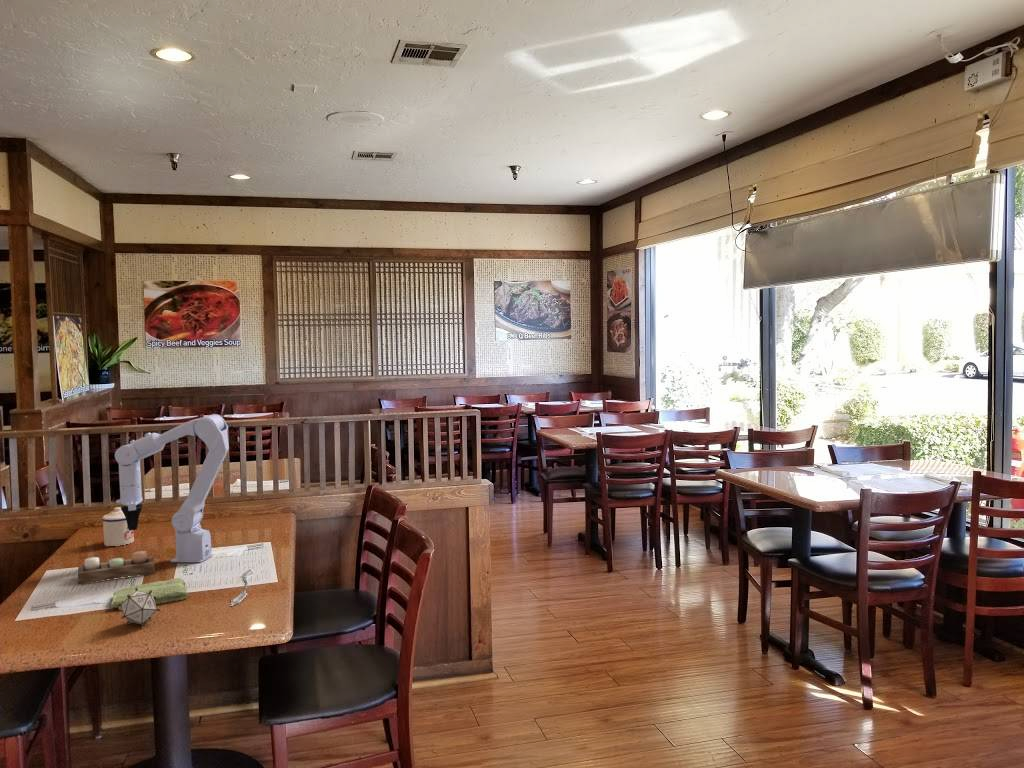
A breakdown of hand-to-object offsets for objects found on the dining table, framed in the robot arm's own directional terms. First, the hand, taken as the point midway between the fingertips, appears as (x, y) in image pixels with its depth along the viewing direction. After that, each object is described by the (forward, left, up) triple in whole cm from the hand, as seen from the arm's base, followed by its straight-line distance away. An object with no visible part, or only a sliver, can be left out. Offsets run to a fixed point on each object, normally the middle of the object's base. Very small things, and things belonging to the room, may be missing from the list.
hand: (132, 529), depth 235 cm
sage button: (-2, +13, -8) cm, 16 cm away
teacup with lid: (+16, -20, -10) cm, 27 cm away
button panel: (-3, +14, -9) cm, 17 cm away
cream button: (+3, +17, -6) cm, 18 cm away
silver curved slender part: (-43, +22, -10) cm, 49 cm away
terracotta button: (-8, +10, -6) cm, 14 cm away
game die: (-29, +49, -10) cm, 58 cm away
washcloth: (-22, +32, -10) cm, 40 cm away
